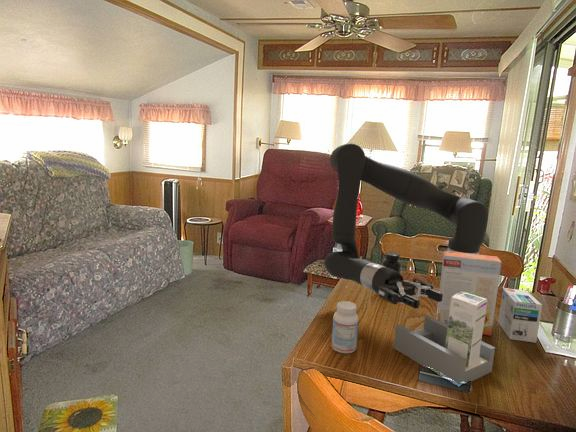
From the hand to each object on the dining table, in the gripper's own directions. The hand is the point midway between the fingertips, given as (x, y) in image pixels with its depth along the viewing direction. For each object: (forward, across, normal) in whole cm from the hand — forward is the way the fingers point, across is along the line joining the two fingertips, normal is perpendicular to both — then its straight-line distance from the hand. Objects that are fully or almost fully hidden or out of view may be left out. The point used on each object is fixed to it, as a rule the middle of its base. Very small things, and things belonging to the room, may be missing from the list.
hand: (430, 301), depth 96 cm
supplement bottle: (-35, +25, +13) cm, 45 cm away
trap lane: (+5, 0, +13) cm, 14 cm away
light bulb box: (+6, +31, +13) cm, 34 cm away
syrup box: (+10, 0, +10) cm, 14 cm away
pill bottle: (-10, -17, +13) cm, 24 cm away
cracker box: (-3, +20, +13) cm, 24 cm away
